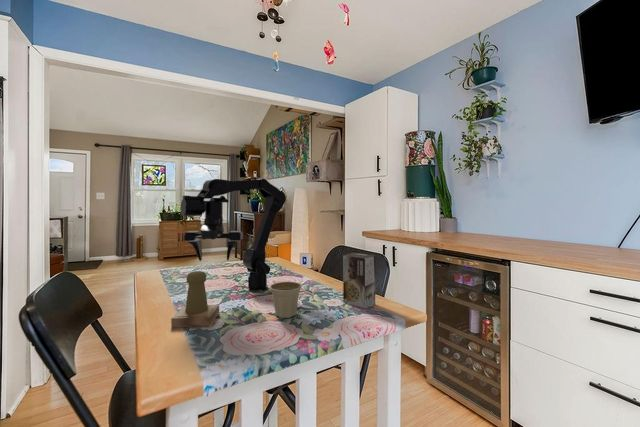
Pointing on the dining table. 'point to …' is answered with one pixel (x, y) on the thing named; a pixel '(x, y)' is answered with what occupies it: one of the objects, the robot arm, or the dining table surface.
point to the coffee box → (359, 279)
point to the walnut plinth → (195, 318)
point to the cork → (196, 293)
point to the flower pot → (285, 298)
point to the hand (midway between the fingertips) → (214, 260)
